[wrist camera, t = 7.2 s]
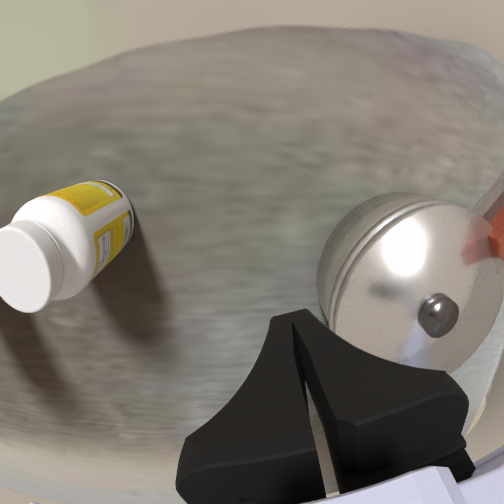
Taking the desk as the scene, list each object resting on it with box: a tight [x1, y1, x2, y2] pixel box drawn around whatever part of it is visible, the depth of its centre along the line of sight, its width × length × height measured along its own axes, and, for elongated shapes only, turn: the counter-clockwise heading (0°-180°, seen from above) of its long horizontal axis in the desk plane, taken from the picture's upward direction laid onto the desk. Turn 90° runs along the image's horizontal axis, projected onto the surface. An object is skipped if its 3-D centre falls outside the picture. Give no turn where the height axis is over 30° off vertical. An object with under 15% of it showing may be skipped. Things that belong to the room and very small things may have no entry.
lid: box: [333, 203, 504, 375], centre depth 16 cm, size 18×12×2 cm
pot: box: [317, 172, 504, 331], centre depth 20 cm, size 20×13×5 cm, turn 134°
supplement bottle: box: [0, 180, 134, 313], centre depth 16 cm, size 5×5×10 cm
